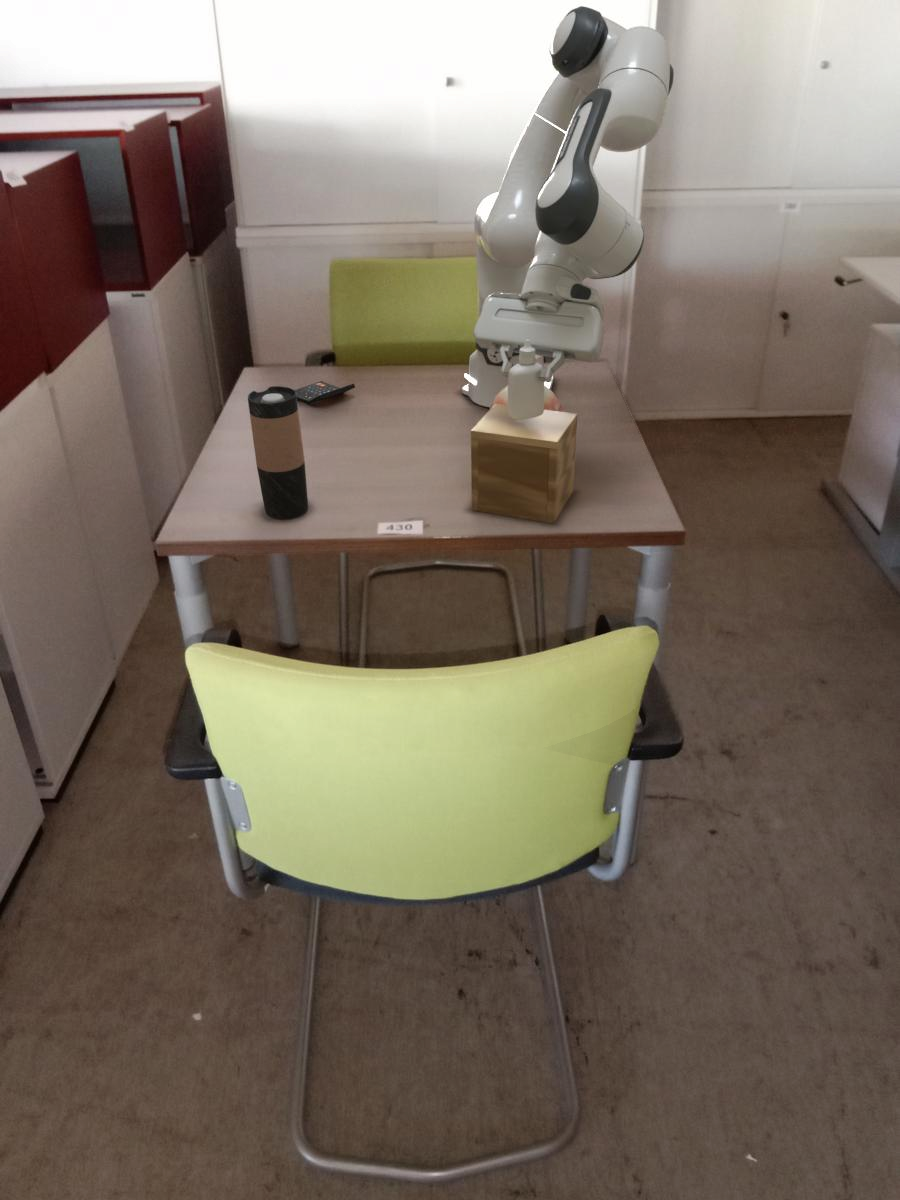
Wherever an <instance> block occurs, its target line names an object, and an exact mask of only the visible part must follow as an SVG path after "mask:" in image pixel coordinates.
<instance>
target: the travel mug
mask: <svg viewBox="0 0 900 1200" xmlns="http://www.w3.org/2000/svg"><path fill="white" fill-rule="evenodd" d="M294 390H295V389H293V388H291V387H287V386H281V385H280V386H279V385H275V386H274V385H273V386H269V387H268V388H267V389H266V390H263V391H256V390H252V391H251V392H250V393H248V395H247V404H248V411H249V417H250V418H249V419H250V426H251V433H252V434H251V435H252V441H253V448H254V456H255V463H256V468H257V475H258V481H259V485H260V492H261V496H262V503H263V509H264V513H265V515H266V516H267V517H268V518H270V519H274V520H278V521H279V520H280V521H287V520H292V519H298V518H300V517H301V516H304V515H305V514H306V513H307V512H308V510H309V500H308V499H309V498H308V487H307V486H308V485H307V474H306V461H305V453H304V452H305V451H304V446H303V445H304V444H303V435H302V427H301V421H300V414H299V413H300V412H299V405H298V404H299V403H298V401H297V396H296V392H295V391H294Z"/></svg>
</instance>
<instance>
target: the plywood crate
mask: <svg viewBox="0 0 900 1200" xmlns="http://www.w3.org/2000/svg"><path fill="white" fill-rule="evenodd" d="M489 410H490V411H489ZM489 410H488V411H487V412H486V414H484V416H483V417H482V418H481V419H480V420H479V421H478V422H477V423H476V425H474V426H473V427H472V429H470V462H471V463H470V467H471V468H470V469H471V470H470V471H471V473H470V474H471V476H470V477H471V481H470V482H471V483H470V485H471V488H470V489H471V491H470V492H471V511H475V512H481V513H482V512H483V513H489V514H494V515H501V516H506V517H507V516H508V517H513V518H520V519H526V520H531V521H537V522H544V523H549V524H554V523H555V521H556V520H557V519H558V517H559V516H560V513H561V512H562V510H563V508H564V507H565V505H566V504H567V502H568V500H569V499H570V497H571V495H572V494H573V492H574V482H575V466H576V465H575V463H576V445H577V429H578V413H575V412H566V411H562V412H559V411H551V410H544V412H543V414H542V415H540V416H538V417H534V418H530V419H513V418H511V417H510V416H509V415H508V405H502V404H495V405H494V406H493V407H492V408H491V409H490V408H489Z"/></svg>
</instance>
